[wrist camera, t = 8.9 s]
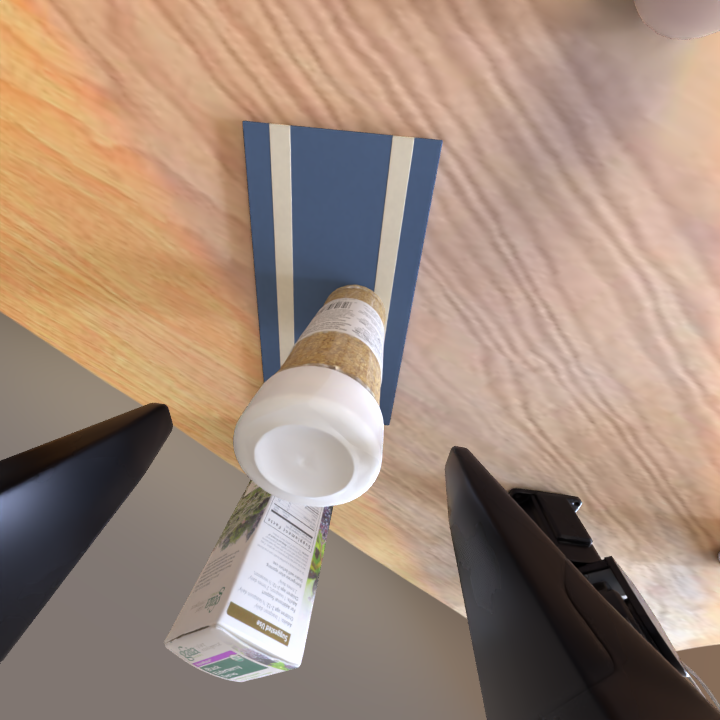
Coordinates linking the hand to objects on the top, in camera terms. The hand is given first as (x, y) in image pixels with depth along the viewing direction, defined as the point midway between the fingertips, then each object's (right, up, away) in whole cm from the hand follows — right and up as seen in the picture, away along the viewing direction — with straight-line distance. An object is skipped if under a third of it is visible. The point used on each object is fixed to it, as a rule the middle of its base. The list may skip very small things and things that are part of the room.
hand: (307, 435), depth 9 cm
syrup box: (-4, -7, +19) cm, 21 cm away
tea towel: (0, +6, +11) cm, 13 cm away
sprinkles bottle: (+1, +6, +11) cm, 13 cm away
